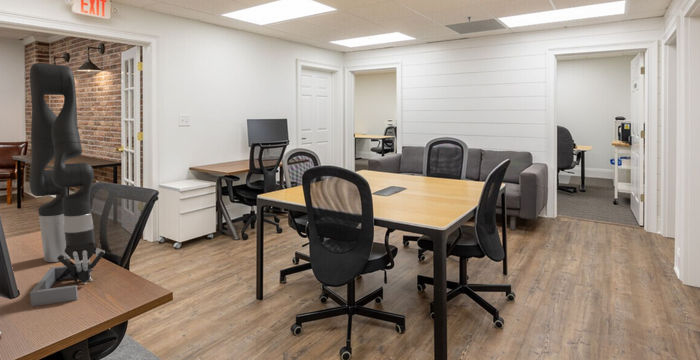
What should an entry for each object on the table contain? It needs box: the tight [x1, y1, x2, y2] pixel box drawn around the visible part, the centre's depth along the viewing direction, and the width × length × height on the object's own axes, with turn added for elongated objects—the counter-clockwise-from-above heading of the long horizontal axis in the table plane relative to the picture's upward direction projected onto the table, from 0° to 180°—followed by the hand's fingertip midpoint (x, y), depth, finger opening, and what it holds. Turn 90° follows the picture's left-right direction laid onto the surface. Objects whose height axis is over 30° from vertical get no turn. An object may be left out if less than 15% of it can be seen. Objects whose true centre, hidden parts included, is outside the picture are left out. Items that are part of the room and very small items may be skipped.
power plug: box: [55, 262, 93, 285], centre depth 136 cm, size 6×8×12 cm
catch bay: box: [29, 262, 92, 307], centre depth 130 cm, size 21×11×4 cm, turn 22°
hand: (84, 281), depth 132 cm, fingers closed
